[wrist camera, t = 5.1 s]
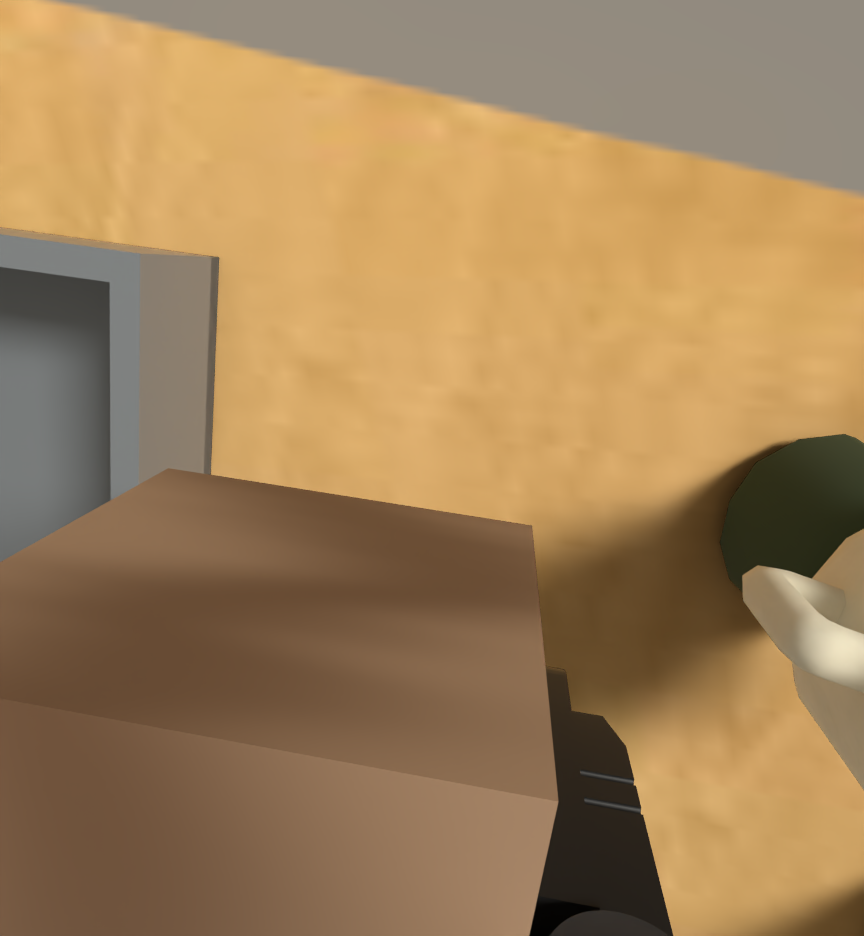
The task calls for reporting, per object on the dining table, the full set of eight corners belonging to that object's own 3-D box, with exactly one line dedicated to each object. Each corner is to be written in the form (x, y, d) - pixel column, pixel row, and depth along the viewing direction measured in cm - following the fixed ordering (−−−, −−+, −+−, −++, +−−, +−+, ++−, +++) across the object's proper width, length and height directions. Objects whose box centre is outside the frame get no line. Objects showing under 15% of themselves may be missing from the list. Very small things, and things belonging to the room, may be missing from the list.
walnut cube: (531, 525, 9) (558, 801, 4) (476, 831, 10) (450, 1297, 6) (168, 468, 9) (-184, 664, 5) (161, 771, 11) (-115, 1164, 6)
